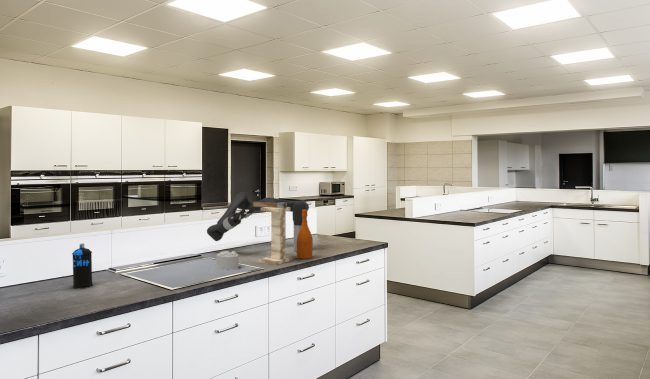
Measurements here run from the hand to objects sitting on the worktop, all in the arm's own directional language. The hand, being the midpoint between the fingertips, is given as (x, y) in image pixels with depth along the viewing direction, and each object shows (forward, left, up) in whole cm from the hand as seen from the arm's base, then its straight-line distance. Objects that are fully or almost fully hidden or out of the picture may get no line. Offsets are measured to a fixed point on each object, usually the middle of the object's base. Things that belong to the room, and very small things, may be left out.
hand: (249, 209), depth 272 cm
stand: (0, +19, -30) cm, 35 cm away
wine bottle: (-17, +29, -30) cm, 45 cm away
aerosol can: (+90, -26, -30) cm, 98 cm away
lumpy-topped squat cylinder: (+26, +6, -30) cm, 40 cm away
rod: (0, +15, +2) cm, 15 cm away
